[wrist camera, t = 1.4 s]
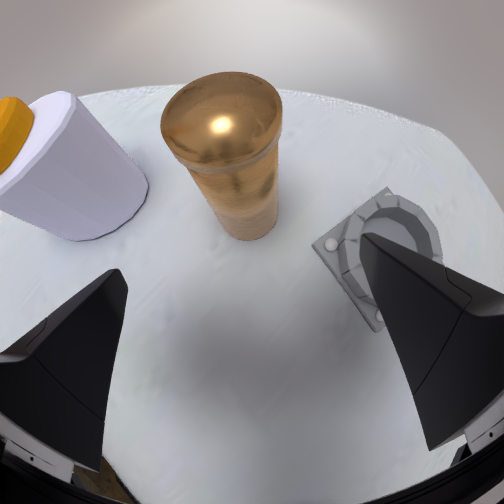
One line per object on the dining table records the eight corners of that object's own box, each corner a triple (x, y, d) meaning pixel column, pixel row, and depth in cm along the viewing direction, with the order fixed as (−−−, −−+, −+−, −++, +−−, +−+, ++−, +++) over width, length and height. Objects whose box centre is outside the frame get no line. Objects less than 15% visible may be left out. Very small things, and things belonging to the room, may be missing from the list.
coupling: (293, 218, 23) (308, 116, 10) (240, 255, 22) (196, 185, 10) (255, 173, 24) (237, 59, 11) (205, 207, 24) (143, 111, 11)
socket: (440, 266, 20) (459, 260, 17) (374, 331, 20) (389, 334, 17) (384, 190, 22) (397, 173, 19) (311, 245, 22) (317, 234, 19)
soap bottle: (54, 252, 24) (-92, 190, 4) (59, 188, 26) (-56, 104, 6) (151, 226, 24) (-26, 82, 4) (150, 153, 25) (41, 3, 6)
